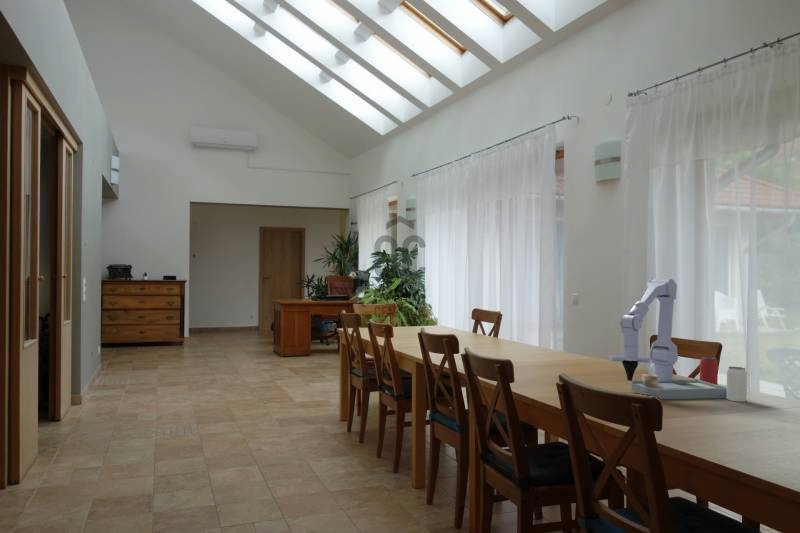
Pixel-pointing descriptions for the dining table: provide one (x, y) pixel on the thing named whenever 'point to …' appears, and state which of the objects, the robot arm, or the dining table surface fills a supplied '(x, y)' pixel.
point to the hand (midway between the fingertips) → (629, 380)
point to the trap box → (682, 389)
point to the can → (736, 384)
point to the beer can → (709, 370)
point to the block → (649, 380)
